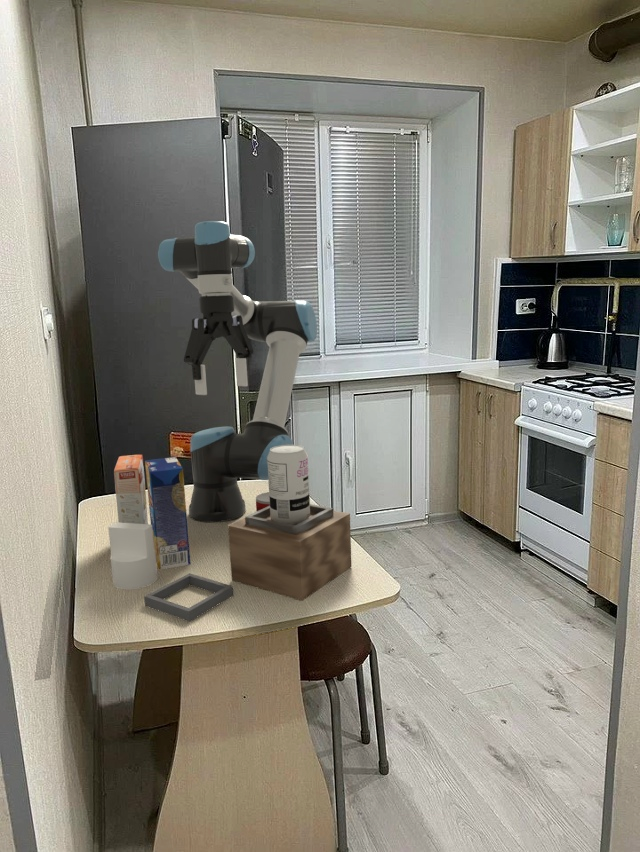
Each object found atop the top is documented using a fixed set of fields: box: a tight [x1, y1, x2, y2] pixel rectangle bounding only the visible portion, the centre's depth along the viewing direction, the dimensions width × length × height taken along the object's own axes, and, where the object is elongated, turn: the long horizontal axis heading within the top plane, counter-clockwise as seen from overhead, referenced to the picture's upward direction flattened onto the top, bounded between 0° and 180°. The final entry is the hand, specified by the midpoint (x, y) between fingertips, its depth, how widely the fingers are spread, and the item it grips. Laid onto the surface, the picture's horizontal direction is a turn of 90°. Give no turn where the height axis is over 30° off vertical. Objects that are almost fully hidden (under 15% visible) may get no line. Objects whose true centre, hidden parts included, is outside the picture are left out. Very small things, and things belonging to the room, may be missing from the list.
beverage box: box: [144, 456, 191, 571], centre depth 146 cm, size 7×11×22 cm, turn 20°
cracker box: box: [113, 454, 149, 524], centre depth 154 cm, size 14×6×21 cm, turn 12°
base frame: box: [143, 572, 235, 622], centre depth 127 cm, size 12×12×2 cm
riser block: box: [227, 503, 353, 601], centre depth 137 cm, size 18×18×14 cm
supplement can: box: [267, 444, 311, 525], centre depth 134 cm, size 8×8×15 cm
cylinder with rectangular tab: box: [107, 521, 159, 590], centre depth 137 cm, size 9×9×12 cm
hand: (222, 390), depth 149 cm, fingers open, 13 cm apart
